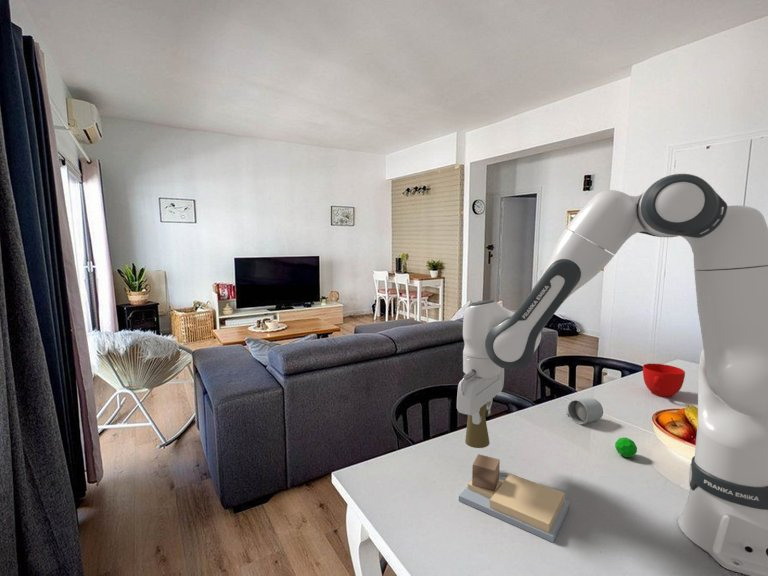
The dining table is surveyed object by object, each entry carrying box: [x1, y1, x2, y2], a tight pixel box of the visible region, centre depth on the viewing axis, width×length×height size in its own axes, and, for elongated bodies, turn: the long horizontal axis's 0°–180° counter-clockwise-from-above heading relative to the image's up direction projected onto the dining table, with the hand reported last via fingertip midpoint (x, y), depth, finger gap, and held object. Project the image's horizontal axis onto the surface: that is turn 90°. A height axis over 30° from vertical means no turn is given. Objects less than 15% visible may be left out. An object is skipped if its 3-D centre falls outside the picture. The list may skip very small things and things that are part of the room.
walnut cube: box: [471, 453, 501, 492], centre depth 89 cm, size 5×5×5 cm
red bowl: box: [642, 363, 686, 398], centre depth 146 cm, size 13×17×10 cm
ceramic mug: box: [565, 397, 604, 425], centre depth 127 cm, size 11×8×8 cm
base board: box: [458, 473, 570, 543], centre depth 86 cm, size 20×13×3 cm, turn 52°
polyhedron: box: [614, 437, 638, 458], centre depth 105 cm, size 5×5×5 cm
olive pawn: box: [465, 404, 490, 449], centre depth 98 cm, size 6×6×11 cm
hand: (481, 419), depth 98 cm, fingers closed on olive pawn, 4 cm apart
